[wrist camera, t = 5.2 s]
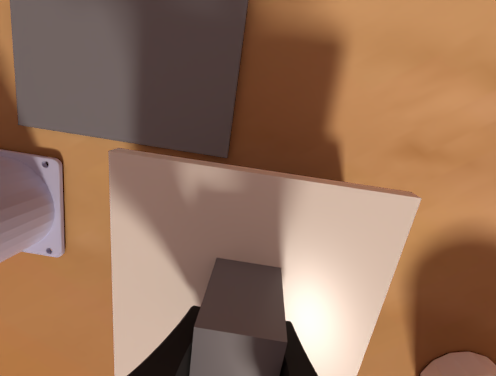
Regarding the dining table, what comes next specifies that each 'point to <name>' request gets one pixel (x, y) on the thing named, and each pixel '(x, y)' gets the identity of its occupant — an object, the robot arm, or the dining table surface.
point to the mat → (130, 69)
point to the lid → (248, 262)
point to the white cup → (460, 365)
